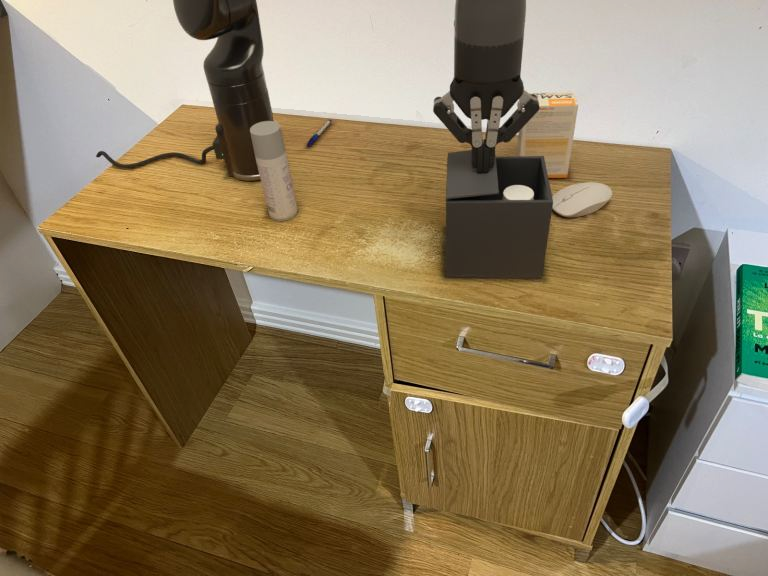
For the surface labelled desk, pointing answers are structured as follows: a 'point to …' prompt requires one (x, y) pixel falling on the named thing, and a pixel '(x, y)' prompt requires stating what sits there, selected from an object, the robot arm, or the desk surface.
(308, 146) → the ballpoint pen
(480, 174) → the flap
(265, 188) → the container
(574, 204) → the computer mouse
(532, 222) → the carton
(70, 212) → the desk surface
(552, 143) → the supplement box
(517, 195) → the supplement bottle
